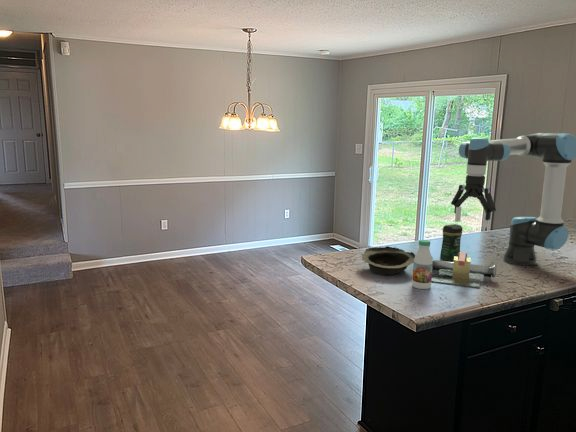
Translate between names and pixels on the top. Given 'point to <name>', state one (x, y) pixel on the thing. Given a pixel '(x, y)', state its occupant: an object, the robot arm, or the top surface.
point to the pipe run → (461, 273)
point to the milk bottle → (422, 266)
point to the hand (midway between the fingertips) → (470, 224)
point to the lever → (462, 258)
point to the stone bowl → (387, 259)
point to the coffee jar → (451, 242)
